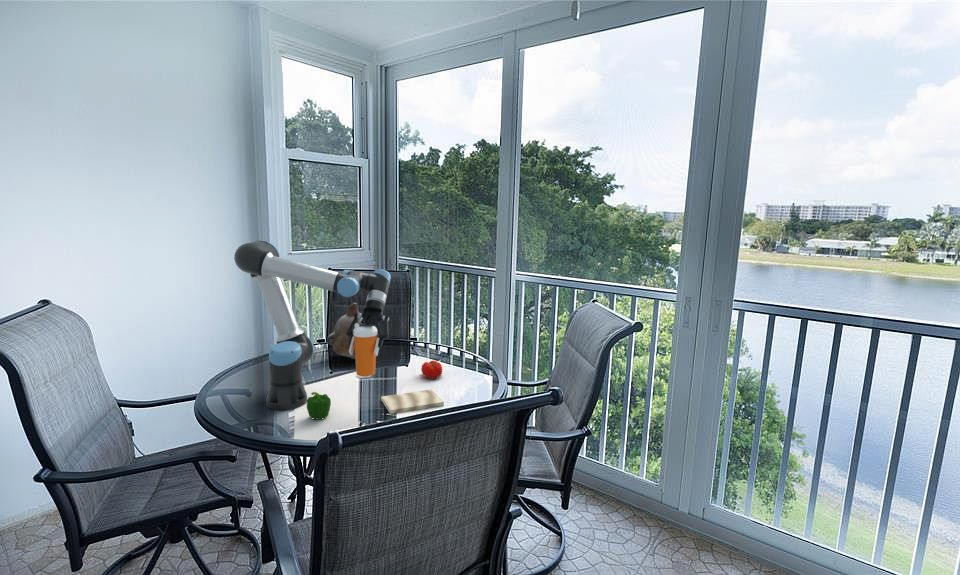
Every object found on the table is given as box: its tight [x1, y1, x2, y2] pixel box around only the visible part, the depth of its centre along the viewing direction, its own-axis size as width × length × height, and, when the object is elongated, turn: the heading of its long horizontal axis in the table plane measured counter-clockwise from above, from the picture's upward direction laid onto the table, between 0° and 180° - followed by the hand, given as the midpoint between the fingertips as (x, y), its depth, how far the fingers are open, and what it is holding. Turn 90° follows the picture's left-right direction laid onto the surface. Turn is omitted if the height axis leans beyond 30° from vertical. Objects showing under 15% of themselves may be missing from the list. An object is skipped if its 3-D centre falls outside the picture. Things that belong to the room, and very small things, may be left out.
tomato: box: [420, 360, 443, 379], centre depth 220 cm, size 10×11×6 cm
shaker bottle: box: [353, 321, 378, 377], centre depth 178 cm, size 9×9×20 cm
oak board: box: [380, 389, 445, 415], centre depth 190 cm, size 22×14×2 cm, turn 116°
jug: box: [326, 302, 380, 360], centre depth 238 cm, size 24×21×30 cm
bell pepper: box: [306, 391, 332, 420], centre depth 173 cm, size 8×8×10 cm
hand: (363, 354), depth 175 cm, fingers closed on shaker bottle, 9 cm apart
